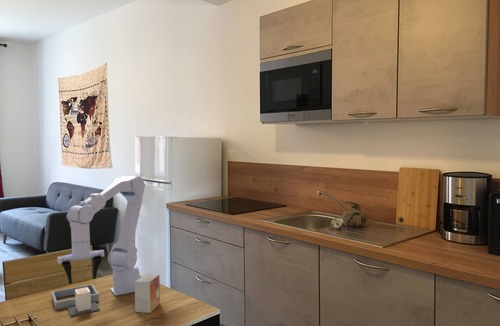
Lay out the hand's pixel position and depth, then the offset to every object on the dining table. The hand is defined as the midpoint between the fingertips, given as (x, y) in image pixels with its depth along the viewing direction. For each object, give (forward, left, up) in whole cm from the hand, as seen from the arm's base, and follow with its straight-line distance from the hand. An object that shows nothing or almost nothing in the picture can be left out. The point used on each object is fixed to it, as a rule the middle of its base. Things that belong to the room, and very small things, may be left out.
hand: (82, 280), depth 137 cm
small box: (-19, +11, -10) cm, 24 cm away
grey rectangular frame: (+1, -11, -10) cm, 15 cm away
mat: (0, 0, -10) cm, 10 cm away
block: (0, 0, -10) cm, 10 cm away
